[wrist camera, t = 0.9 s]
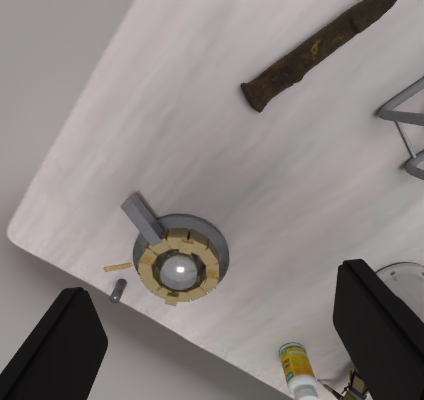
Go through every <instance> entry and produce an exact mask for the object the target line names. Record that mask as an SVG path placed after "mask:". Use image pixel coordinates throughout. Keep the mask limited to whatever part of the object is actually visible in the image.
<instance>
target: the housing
mask: <svg viewBox="0 0 424 400" xmlns="http://www.w3.org/2000/svg"><path fill="white" fill-rule="evenodd" d="M156 222H157V223H158V224H159V226H160V227H161V228H162V230H163V231H164V230H166V229H168V230H170V228H189V231H190V230H191V229H193V230H195V231H197V232H199V233H201V234H203V235H205V236H207V239H210V240H211V242H212V243H213V245H214V246H215V248H216V249H217V251H218V253H219V280H218V283H219V282H220V281H221V280H222V279H223V277H224V276H225V274H226V272H227V269H228V265H229V251H228V246H227V243H226V240H225V239H224V237H223V235H222V234H221V233H220V231H219V230H218V229H217V228H216V227H215V226H213V225H212V224H211V223H209V222H207V221H206V220H204V219H201V218H199V217H196V216H192V215H187V214H173V215H167V216H164V217H161V218H158V219H156ZM147 244H148V241H147V240H146V238H145V237H144V236H143V234H142V233H140V235H139V236H138V238H137V240H136V243H135V245H134V249H133V261H134V266H135V268H136V270H137V272H138V268H139V265H138V264H139V260H140V258H141V256H142V253H143V251H144V249H145V247H146V246H147ZM156 266H157V267H158V268H159V270H160V271H161V272H160V277H161V280H162V282H163V283H164V284H165V285H166V286H168V287H169V288H172V289H176V290H183V289H187V288H189V287H191V286H192V285H193V284H194V283H195V281H196V279H197V276H199V275H200V274H201V273H202V272H203V270H204V269H205V267H206V265H205V264H204V262H203V261H202V260H201V258H200V257H199V255H197V254H194V253H192V252H191V255H189V254H185V253H180V252H179V249H170V250H168V251H166V252H164V253H162V254H160V255H158V256H157V258H156ZM131 267H133V266H132V264H131V263H127V264H122V265H116V266H110V267H105V268H103V269H104V271H105V272H108V271H114V270H119V269H125V268H131ZM138 274H139V275H140V273H138ZM218 283H217V284H218ZM126 284H127V282H126V281H125V280H124V279H120V280H118V282H117V284H116V286H115V288H114V290H113V292H112V294H111V296H110V298H109V299H110V301H111V302H112V303H118V302H119V300H120V298H121V295H122V293H123V291H124V289H125V286H126Z"/></svg>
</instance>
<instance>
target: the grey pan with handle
mask: <svg viewBox="0 0 424 400" xmlns="http://www.w3.org/2000/svg"><path fill="white" fill-rule="evenodd" d="M120 207H121V208H122V209H123V211H124V212H125V213H126V214H127V216H128V217H129V218H130V219H131V221H132V222H133V223H134V224H135V226H136V227H137V228H138V229H139V231H140V232H141V233H142V234H143V236H144V237H145V238H146V240H147V241H148V244H147V246H146V247H145V249H144V251H143V253H142V256H141V258H140V260H139V264H138V265H139V268H138V273H140V279H142V282H143V283H144V285H145V286H146V287H147V288H148V289H149V290H150V291H151V293H153V292H154V295H156V296H159V297H161V298H164V299H166V302H165V304H168V305H173V306H176V304H177V302H190V299H191V300H192V301H194V300H196V299H198V298H200V297H203V296H205V295H207V292H208V293H209V292H210V291H211V290H212V288H216V285H217V283H218V280H219V253H218V251H217V249H216V248H215V246H214V245H213V243H212V242H211V240H210V239H207V236H205V235H203V234H201V233H199V232H197V231H195V230H193V229H191V230H190V231H189V228H170V230H168V229H166V230H164V231H163V230H162V228H161V227H160V226H159V224H158V223H157V222H156V220H155V219H154V218H153V216H152V215H151V214H150V212H149V211H148V210H147V208H146V207H145V206H144V204H143V203H142V202H141V200H140V199H139V198H138V196H137V195H136V194H135V195H133V196H131V197H130V198H128V199H126V200H125V201H124V203H123V204H122V205H121V206H120ZM170 249H179V252H180V253H185V254H189V255H191V252H192V253H194V254H197V255H199V257H200V258H201V260H202V261H203V262H204V264H205V265H206V267H205V269H204V270H203V272H202V273H201V274H200V275H199V276H197V279H196V281H195V283H194V284H193V285H192V286H191V287H189V288H187V289H183V290H176V289H172V288H169V287H168V286H166V285H165V284H164V283H163V282H162V280H161V277H160V272H161V271H160V270H159V268H158V267H157V266H156V258H157V256H158V255H160V254H162V253H164V252H166V251H168V250H170Z"/></svg>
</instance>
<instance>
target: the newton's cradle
mask: <svg viewBox="0 0 424 400" xmlns="http://www.w3.org/2000/svg"><path fill="white" fill-rule="evenodd" d="M423 88H424V78H422V79H421V80H419V81H418V82H416V83H415V84H413V85H412V86H410V87H409V88H408V89H406V90H405V91H403V92H402V93H400V94H399V95H397V96H396V97H394V98H393V99H392V100H390V101H389V102H387V103H386V104H385V105H384V106H383V107H382V108H381V109H380V111H379V116H380V118H382V119H384V120H390V121H396V122H397V124H398V126H399V128H400V130H401V133H402V135H403V137H404V139H405V141H406V143H407V146H408V148H409V150H410V152H411V154H412V156H413V158H411V159H410V160H409V161H408V162H407V163H406V166H405V170H406V172H407V173H409V174H410V175H412V176H415V177H417V178H420V179H422V180H424V170H421V169H419V168H416V167H415V166H416V165H417V164H419V163H420V162H422V161H423V160H424V151H422V152H421V153H419V154H418V155H416V154H415V152H414V150H413V148H412V146H411V143H410V141H409V139H408V137H407V135H406V132H405V130H404V128H403V126H402V124H401V122H403V123H409V124H415V125H422V126H424V114H419V113H409V112H399V111H395V107H397V106H398V105H400V104H401V103H402V102H404V101H405V100H407V99H408V98H410V97H411V96H413V95H414V94H416V93H417V92H419V91H420V90H422V89H423Z"/></svg>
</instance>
